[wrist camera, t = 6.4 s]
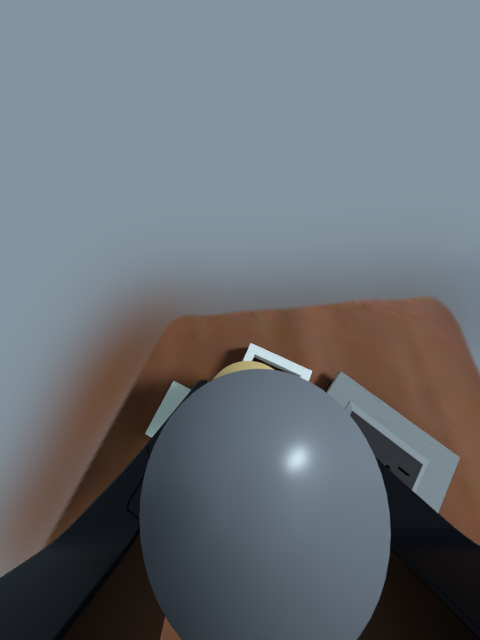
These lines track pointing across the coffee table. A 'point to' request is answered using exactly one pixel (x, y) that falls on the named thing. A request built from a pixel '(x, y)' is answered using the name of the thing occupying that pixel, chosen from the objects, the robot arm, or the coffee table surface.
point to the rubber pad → (167, 406)
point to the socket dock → (277, 361)
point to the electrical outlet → (398, 442)
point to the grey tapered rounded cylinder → (264, 513)
